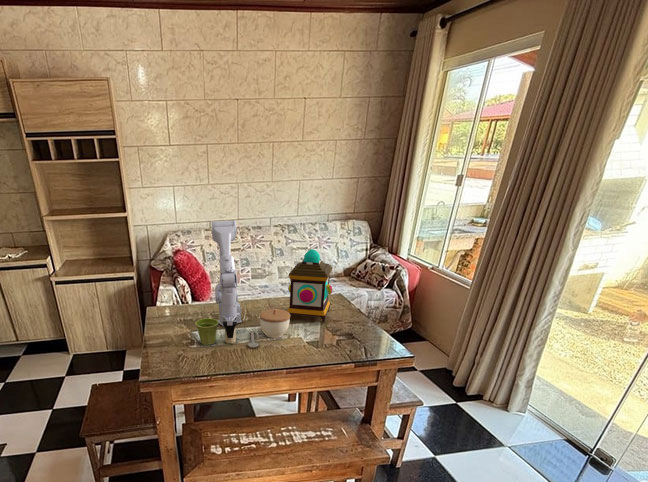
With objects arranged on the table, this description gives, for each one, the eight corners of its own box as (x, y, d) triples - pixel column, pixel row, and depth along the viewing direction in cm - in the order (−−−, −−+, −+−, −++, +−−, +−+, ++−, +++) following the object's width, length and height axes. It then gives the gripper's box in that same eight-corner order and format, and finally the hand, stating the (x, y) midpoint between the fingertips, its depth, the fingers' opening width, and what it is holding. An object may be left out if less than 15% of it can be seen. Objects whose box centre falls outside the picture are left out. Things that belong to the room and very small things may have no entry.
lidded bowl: (293, 330, 174) (294, 306, 169) (284, 342, 164) (284, 316, 159) (265, 327, 179) (265, 303, 174) (255, 338, 169) (254, 313, 164)
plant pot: (222, 338, 170) (221, 319, 165) (214, 348, 162) (213, 328, 158) (202, 336, 173) (200, 317, 168) (193, 345, 165) (191, 325, 161)
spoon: (247, 333, 174) (247, 331, 173) (257, 332, 174) (257, 331, 173) (247, 348, 161) (247, 346, 160) (259, 348, 160) (259, 346, 160)
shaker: (232, 337, 170) (232, 317, 165) (238, 341, 166) (237, 321, 162) (222, 340, 168) (222, 320, 163) (228, 344, 164) (227, 323, 160)
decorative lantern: (291, 305, 201) (294, 243, 186) (332, 309, 195) (338, 245, 180) (282, 320, 185) (284, 253, 170) (326, 324, 179) (333, 255, 164)
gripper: (239, 309, 153) (240, 342, 159) (238, 297, 165) (239, 328, 172) (221, 310, 153) (222, 343, 159) (221, 297, 165) (223, 328, 172)
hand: (230, 335), depth 166 cm, fingers closed on shaker, 4 cm apart
